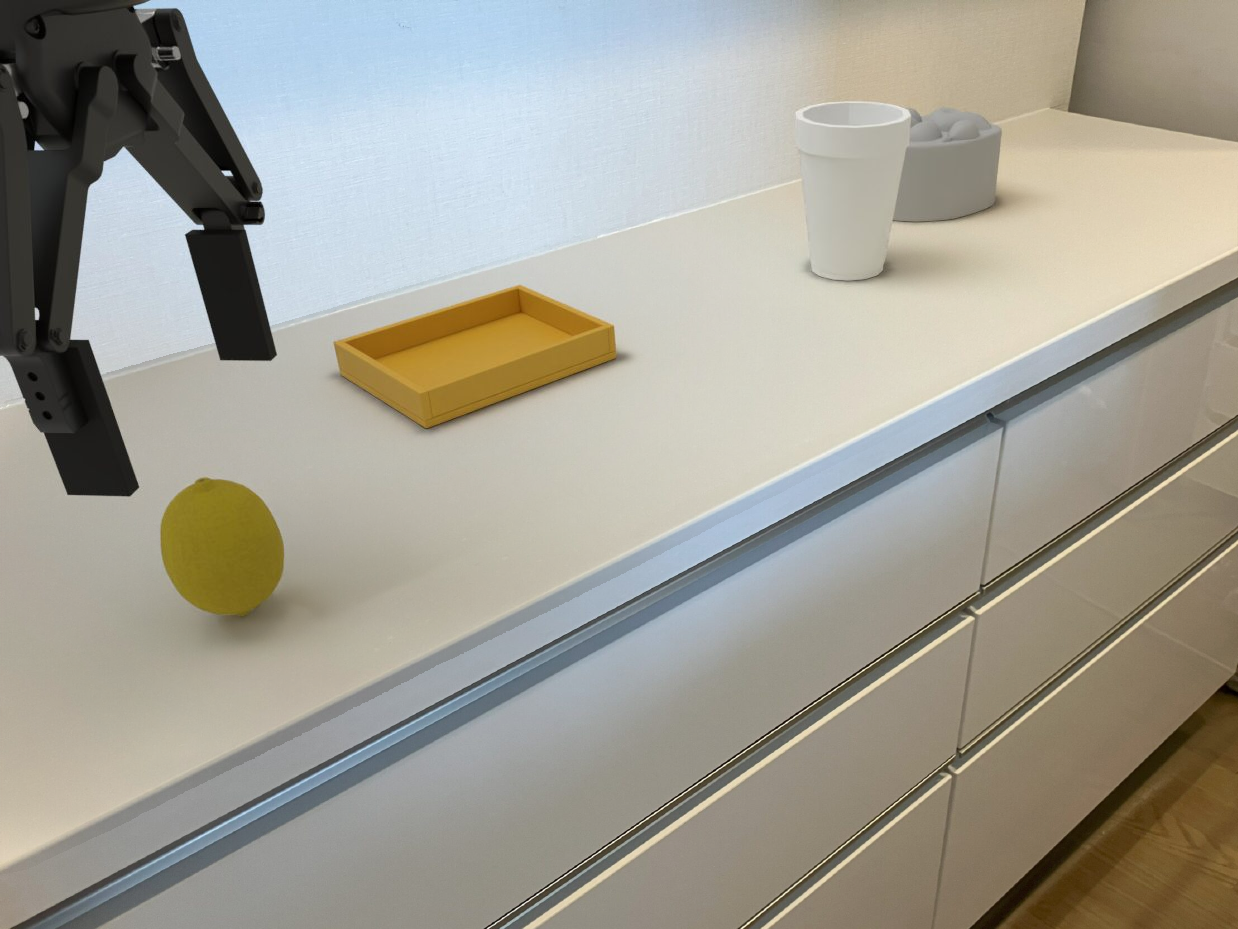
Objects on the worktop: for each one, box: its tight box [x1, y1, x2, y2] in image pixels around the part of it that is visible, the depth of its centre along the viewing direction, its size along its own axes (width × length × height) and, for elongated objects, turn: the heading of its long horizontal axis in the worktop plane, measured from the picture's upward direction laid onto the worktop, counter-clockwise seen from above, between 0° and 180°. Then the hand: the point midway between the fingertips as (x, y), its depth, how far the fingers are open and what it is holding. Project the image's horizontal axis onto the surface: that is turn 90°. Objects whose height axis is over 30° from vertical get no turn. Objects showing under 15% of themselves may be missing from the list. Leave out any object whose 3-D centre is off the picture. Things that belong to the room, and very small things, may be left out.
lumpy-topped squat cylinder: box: [893, 106, 1003, 222], centre depth 113 cm, size 10×13×9 cm
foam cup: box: [794, 100, 911, 282], centre depth 97 cm, size 10×9×13 cm
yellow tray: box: [333, 284, 617, 429], centre depth 84 cm, size 16×12×3 cm
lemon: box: [159, 476, 285, 617], centre depth 57 cm, size 6×6×8 cm
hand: (184, 418), depth 53 cm, fingers open, 13 cm apart
